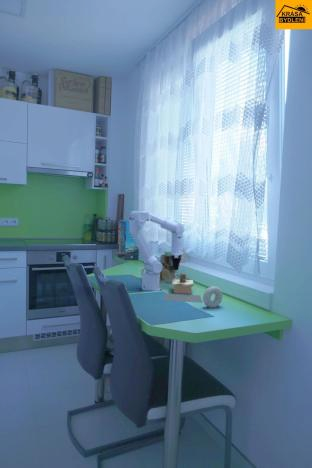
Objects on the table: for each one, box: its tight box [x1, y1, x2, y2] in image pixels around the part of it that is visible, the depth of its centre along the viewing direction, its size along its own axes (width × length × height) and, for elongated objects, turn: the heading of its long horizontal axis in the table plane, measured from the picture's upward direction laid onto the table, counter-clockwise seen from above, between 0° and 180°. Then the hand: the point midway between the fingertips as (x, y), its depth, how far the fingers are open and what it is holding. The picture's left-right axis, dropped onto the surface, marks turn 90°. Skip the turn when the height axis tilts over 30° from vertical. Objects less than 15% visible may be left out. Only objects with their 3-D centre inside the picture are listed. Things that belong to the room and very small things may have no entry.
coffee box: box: [159, 254, 178, 284], centre depth 205 cm, size 9×6×16 cm
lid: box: [171, 273, 194, 287], centre depth 178 cm, size 11×11×5 cm
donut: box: [202, 285, 224, 309], centre depth 152 cm, size 10×3×10 cm, turn 117°
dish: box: [173, 285, 193, 295], centre depth 179 cm, size 9×9×5 cm
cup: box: [140, 266, 146, 277], centre depth 210 cm, size 7×10×9 cm
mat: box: [163, 293, 203, 303], centre depth 166 cm, size 18×13×1 cm
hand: (176, 268), depth 191 cm, fingers open, 7 cm apart
